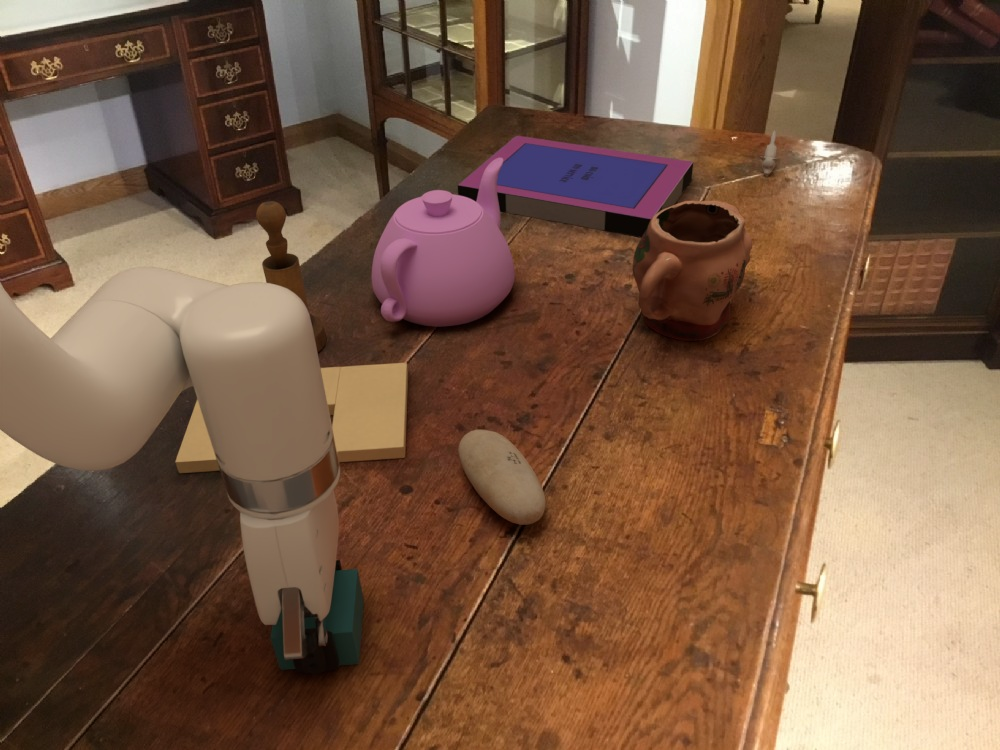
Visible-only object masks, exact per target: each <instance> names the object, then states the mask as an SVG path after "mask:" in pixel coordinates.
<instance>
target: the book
mask: <svg viewBox="0 0 1000 750" xmlns="http://www.w3.org/2000/svg"><path fill="white" fill-rule="evenodd" d="M497 158H503V164H502V167H501V169H500V172H499V174H498V179H497V196H498V202H499V208H500V212H502V213H507V214H514V215H519V216H523V217H529V218H535V219H540V220H546V221H551V222H555V223H562V224H567V225H572V226H577V227H583V228H589V229H594V230H600V231H606V232H611V233H616V234H620V235H621V234H622V235H627V236H633V237H638V238H642V236H643V235H644V233H645V231H646V230H647V227H648V224H649V222H650V221H651V219H652V218H653V217H654V216H655V215H656V214H657V213H658V212H660V211H661V210H663V209H666V208H668V207H671V206H673V205H676V204H677V202H678V201H679V199H680V197H681V196H682V195H683V193H684V192H685V190H686V189H687V187H688V186H689V184H690V183H691V182H692V180H693V179H692V177H693V170H694V161H692V160H685V159H679V158H672V157H671V158H670V157H664V156H657V155H651V154H643V153H638V152H637V153H636V152H630V151H623V150H617V149H610V148H604V147H603V148H602V147H596V146H589V145H583V144H576V143H571V142H563V141H555V140H550V139H542V138H536V137H529V136H523V135H515V136H514V137H513V138H511V139H510V140H509V141H508V142H507V143H506V144H504V145H503V146H502V147H500V148H499V149H498V150H497V151H496V152H495V153H494V154H493V155H491V156H490V157H488V159H486V160H485V161H484V162H483V163H482V164H481V165H479V166H478V167H477V168H476V169H474V170H473V171H472V172H470V174H469V175H467V176H466V177H465V178H464V179H463V180H461V181H460V182H459V183H458V184H457V195H460V196H464V197H467V198H470V199H472V200H474V201H475V202H476V201H477V197H478V192H479V187H480V183H481V179H482V176H483V173H484V171H485V169H486V167H487V166H488V165H489V164H490V163H491V162H492V161H493V160H495V159H497Z"/></svg>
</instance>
